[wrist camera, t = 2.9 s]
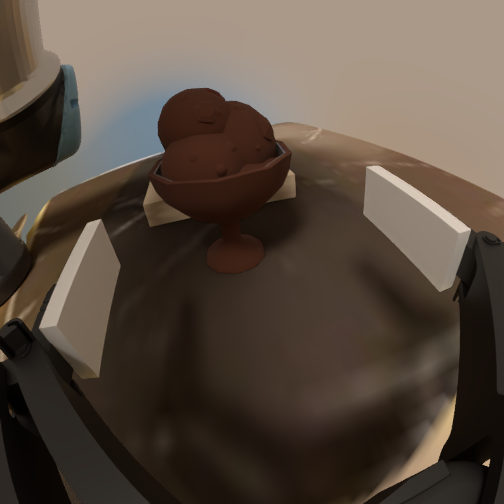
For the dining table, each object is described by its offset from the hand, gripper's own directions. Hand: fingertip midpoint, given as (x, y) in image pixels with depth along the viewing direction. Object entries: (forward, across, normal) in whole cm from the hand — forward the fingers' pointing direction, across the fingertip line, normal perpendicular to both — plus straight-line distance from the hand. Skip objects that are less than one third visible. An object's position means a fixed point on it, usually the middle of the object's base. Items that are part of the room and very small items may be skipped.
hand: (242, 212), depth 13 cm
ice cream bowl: (+10, 0, -10) cm, 14 cm away
